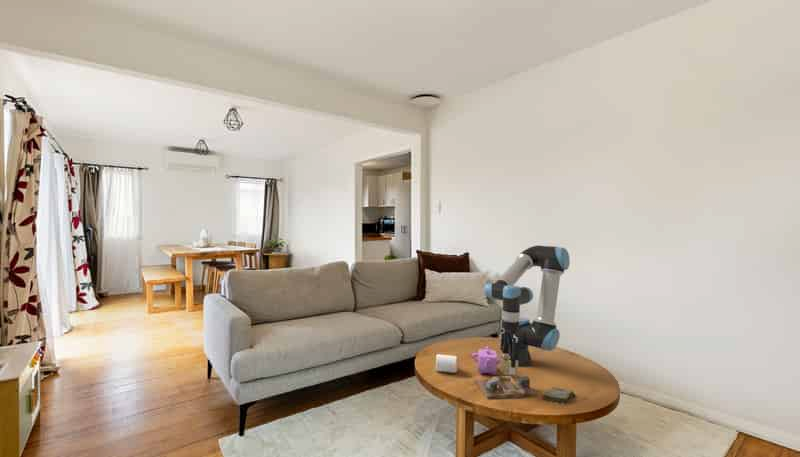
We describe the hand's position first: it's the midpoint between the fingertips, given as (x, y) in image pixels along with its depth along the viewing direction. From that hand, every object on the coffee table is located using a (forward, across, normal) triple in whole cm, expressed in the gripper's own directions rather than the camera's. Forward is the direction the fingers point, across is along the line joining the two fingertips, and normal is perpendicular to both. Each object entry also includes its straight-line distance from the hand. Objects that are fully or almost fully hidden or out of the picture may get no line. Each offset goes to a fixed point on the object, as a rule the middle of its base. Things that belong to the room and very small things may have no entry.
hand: (508, 370), depth 165 cm
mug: (+9, -24, -22) cm, 33 cm away
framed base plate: (+9, 0, -1) cm, 9 cm away
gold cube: (0, 0, 0) cm, 0 cm away
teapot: (+9, -20, -2) cm, 22 cm away
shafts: (+7, +1, -1) cm, 8 cm away
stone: (+9, +10, +19) cm, 23 cm away
